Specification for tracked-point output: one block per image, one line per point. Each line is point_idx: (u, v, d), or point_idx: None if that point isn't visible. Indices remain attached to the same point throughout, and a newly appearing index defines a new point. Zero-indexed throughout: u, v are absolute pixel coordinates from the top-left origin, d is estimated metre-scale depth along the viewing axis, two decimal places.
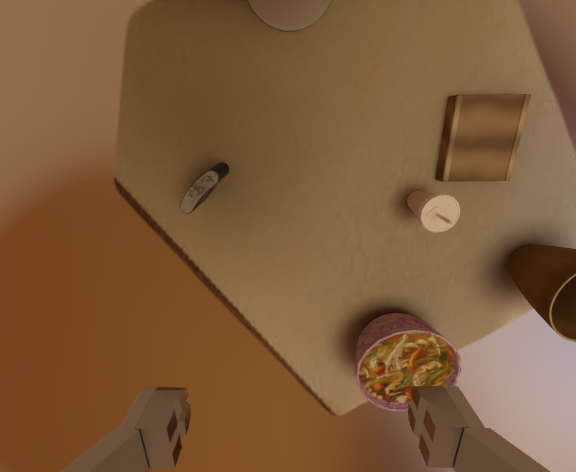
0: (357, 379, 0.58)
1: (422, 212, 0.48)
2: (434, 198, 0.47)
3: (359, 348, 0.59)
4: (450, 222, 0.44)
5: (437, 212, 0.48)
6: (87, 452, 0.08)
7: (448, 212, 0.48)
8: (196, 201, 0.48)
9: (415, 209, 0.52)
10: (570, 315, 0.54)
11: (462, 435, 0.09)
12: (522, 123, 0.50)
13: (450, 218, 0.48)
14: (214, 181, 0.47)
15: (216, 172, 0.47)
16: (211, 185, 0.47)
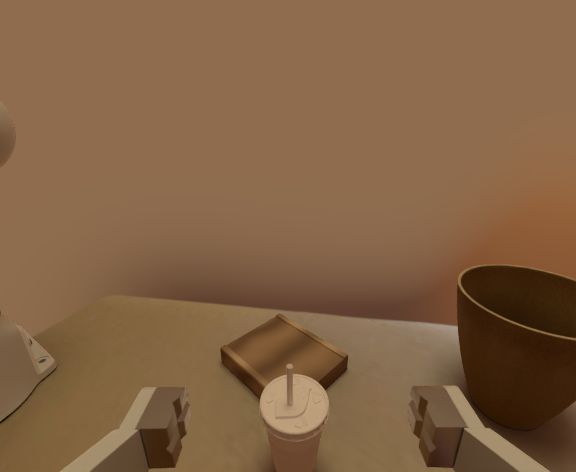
0: None
1: (267, 420, 0.25)
2: (264, 392, 0.28)
3: None
4: (289, 366, 0.25)
5: (286, 400, 0.27)
6: (87, 452, 0.08)
7: (300, 389, 0.28)
8: None
9: (275, 449, 0.27)
10: None
11: (462, 435, 0.09)
12: (297, 325, 0.48)
13: (313, 394, 0.28)
14: None
15: None
16: None
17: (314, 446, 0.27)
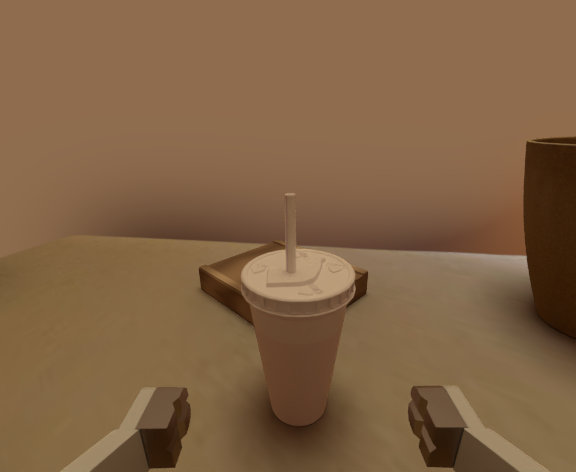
0: None
1: (252, 289, 0.15)
2: (249, 264, 0.17)
3: None
4: (289, 194, 0.15)
5: (284, 267, 0.16)
6: (87, 452, 0.08)
7: (307, 259, 0.18)
8: None
9: (268, 348, 0.16)
10: None
11: (462, 435, 0.09)
12: (299, 248, 0.38)
13: (328, 265, 0.17)
14: None
15: None
16: None
17: (332, 341, 0.16)
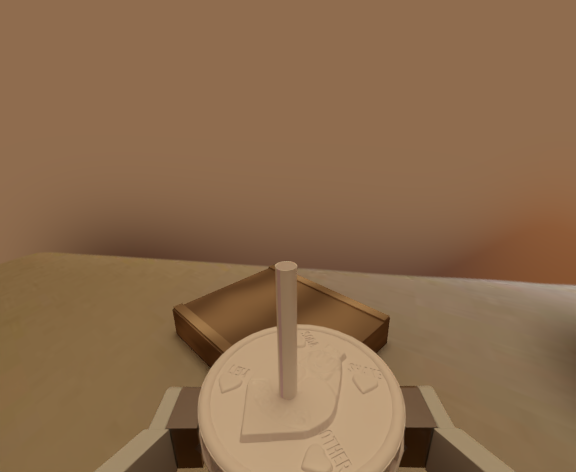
0: None
1: (213, 447, 0.08)
2: (218, 365, 0.10)
3: None
4: (284, 266, 0.08)
5: (276, 384, 0.09)
6: (119, 452, 0.08)
7: (315, 356, 0.10)
8: None
9: None
10: None
11: (432, 435, 0.09)
12: (301, 278, 0.31)
13: (352, 368, 0.10)
14: None
15: None
16: None
17: None
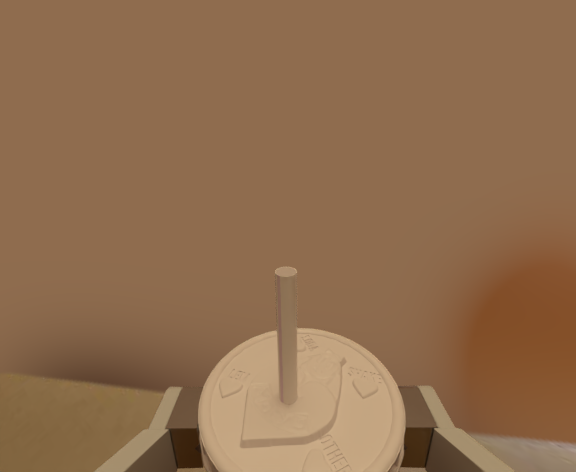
0: None
1: (213, 452, 0.08)
2: (218, 369, 0.10)
3: None
4: (284, 271, 0.08)
5: (277, 388, 0.09)
6: (119, 452, 0.08)
7: (315, 360, 0.10)
8: None
9: None
10: None
11: (432, 435, 0.09)
12: None
13: (352, 373, 0.10)
14: None
15: None
16: None
17: None
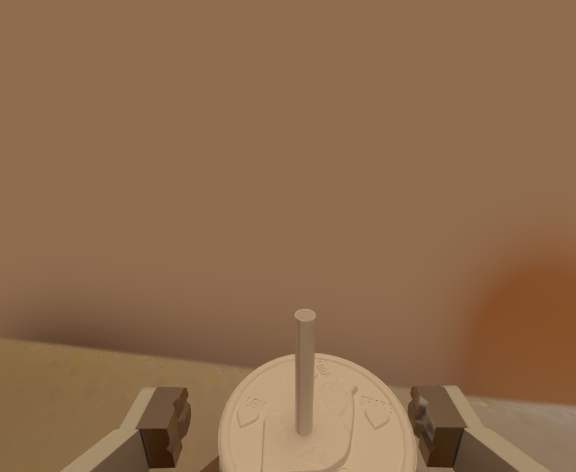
0: None
1: None
2: (235, 397, 0.11)
3: None
4: (303, 315, 0.08)
5: (292, 419, 0.10)
6: (87, 452, 0.08)
7: (328, 389, 0.11)
8: None
9: None
10: None
11: (462, 435, 0.09)
12: None
13: (363, 402, 0.11)
14: None
15: None
16: None
17: None
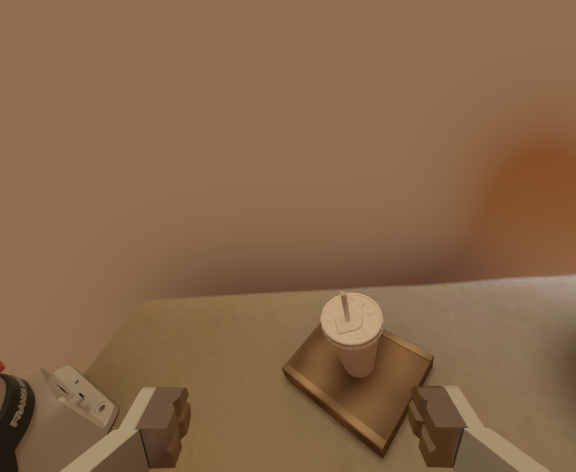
0: None
1: (331, 336, 0.29)
2: (322, 314, 0.32)
3: None
4: (342, 293, 0.28)
5: (343, 317, 0.30)
6: (87, 452, 0.08)
7: (354, 306, 0.31)
8: None
9: (342, 354, 0.32)
10: None
11: (462, 435, 0.09)
12: None
13: (366, 308, 0.31)
14: None
15: None
16: None
17: (374, 347, 0.31)
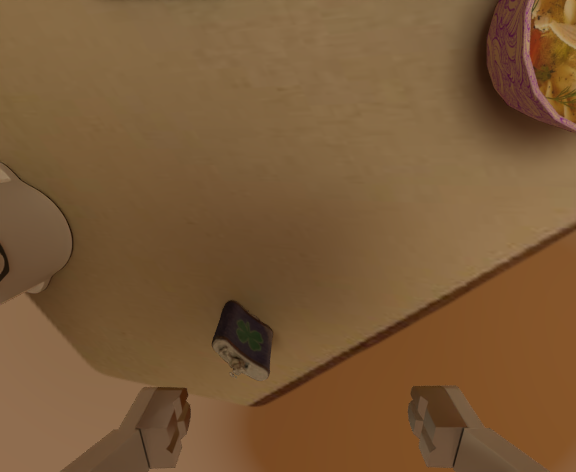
0: None
1: None
2: None
3: (550, 123, 0.29)
4: None
5: None
6: (87, 452, 0.08)
7: None
8: (252, 364, 0.39)
9: None
10: None
11: (462, 435, 0.09)
12: None
13: None
14: (224, 344, 0.37)
15: (214, 340, 0.37)
16: (230, 347, 0.38)
17: None
